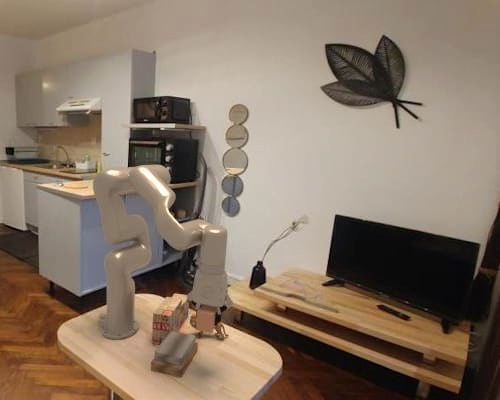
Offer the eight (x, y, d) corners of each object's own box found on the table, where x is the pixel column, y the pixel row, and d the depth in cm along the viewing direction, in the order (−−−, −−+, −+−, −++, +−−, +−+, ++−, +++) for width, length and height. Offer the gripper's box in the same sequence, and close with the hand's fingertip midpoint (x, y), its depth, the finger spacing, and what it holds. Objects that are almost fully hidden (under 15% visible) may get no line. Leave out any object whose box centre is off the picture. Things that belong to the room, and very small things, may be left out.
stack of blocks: (173, 313, 138) (175, 286, 136) (188, 316, 137) (190, 288, 135) (151, 344, 117) (152, 312, 115) (168, 347, 117) (170, 315, 114)
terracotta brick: (195, 330, 100) (196, 311, 99) (204, 316, 108) (206, 299, 107) (211, 333, 99) (213, 314, 98) (219, 319, 107) (221, 302, 106)
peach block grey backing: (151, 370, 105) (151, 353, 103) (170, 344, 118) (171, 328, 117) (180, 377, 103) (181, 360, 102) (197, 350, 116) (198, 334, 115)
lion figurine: (188, 341, 121) (189, 318, 119) (189, 332, 126) (190, 310, 124) (228, 341, 123) (230, 319, 121) (228, 332, 128) (229, 311, 126)
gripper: (180, 266, 98) (177, 323, 101) (236, 276, 95) (231, 334, 98) (190, 258, 105) (187, 311, 109) (242, 266, 102) (237, 321, 105)
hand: (208, 321), depth 103 cm, fingers closed on terracotta brick, 4 cm apart
